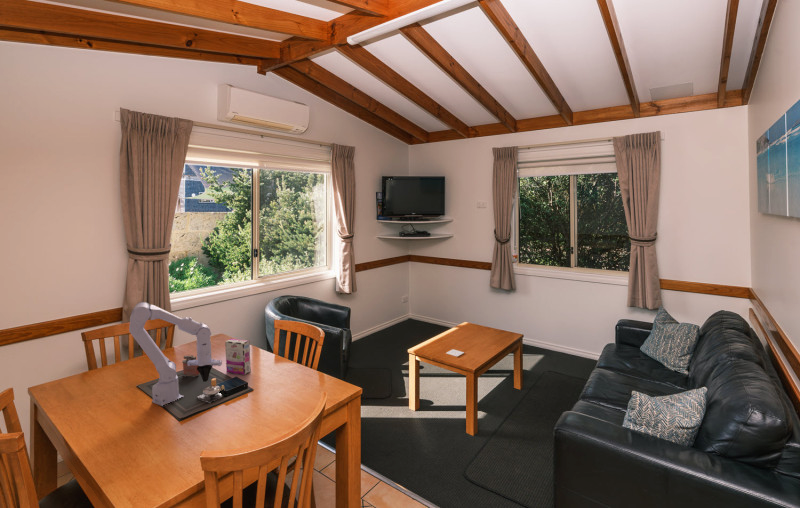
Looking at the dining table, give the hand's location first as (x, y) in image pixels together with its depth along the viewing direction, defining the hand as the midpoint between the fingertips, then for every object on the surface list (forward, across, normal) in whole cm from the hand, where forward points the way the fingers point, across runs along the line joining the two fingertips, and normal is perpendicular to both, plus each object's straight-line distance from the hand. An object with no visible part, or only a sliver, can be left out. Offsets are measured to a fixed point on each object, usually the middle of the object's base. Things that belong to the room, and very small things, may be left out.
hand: (205, 380), depth 181 cm
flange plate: (+3, +5, -4) cm, 7 cm away
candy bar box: (+6, +6, +22) cm, 23 cm away
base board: (+5, +5, -5) cm, 9 cm away
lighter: (+5, -15, +17) cm, 24 cm away
